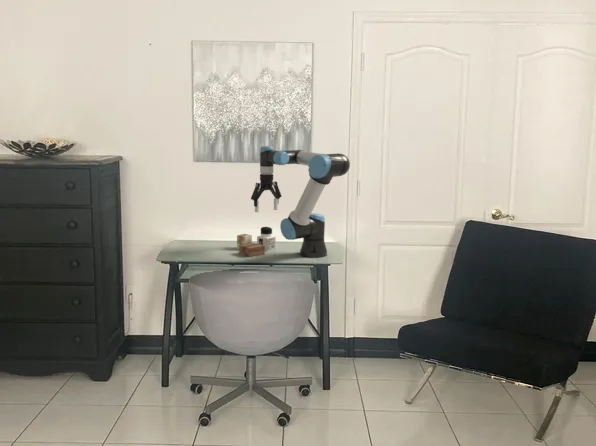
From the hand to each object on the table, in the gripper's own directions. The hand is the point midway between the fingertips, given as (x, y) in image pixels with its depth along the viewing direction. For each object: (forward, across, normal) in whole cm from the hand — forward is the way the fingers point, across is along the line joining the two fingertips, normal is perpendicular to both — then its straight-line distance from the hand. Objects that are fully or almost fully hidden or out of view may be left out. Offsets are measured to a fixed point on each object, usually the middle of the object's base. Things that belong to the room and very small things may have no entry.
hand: (266, 211), depth 362 cm
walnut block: (+22, +14, +5) cm, 27 cm away
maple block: (+22, +9, -9) cm, 26 cm away
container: (+22, 0, 0) cm, 23 cm away
